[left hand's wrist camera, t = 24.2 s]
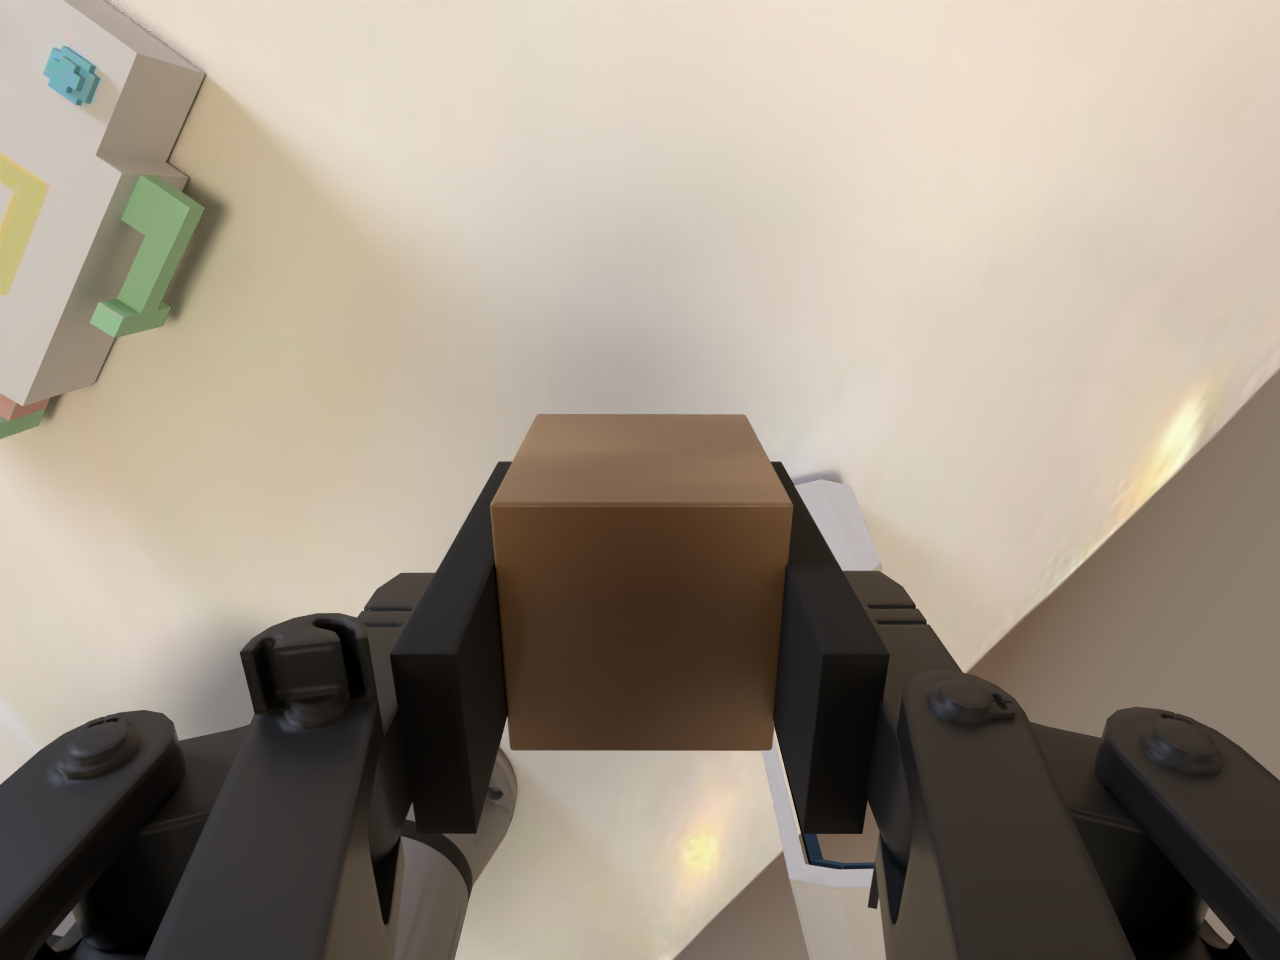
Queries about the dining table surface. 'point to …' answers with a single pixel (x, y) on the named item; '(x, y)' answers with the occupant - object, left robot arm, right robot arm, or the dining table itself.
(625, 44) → the dining table surface
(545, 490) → the block
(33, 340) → the decorative block
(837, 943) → the electronic device
